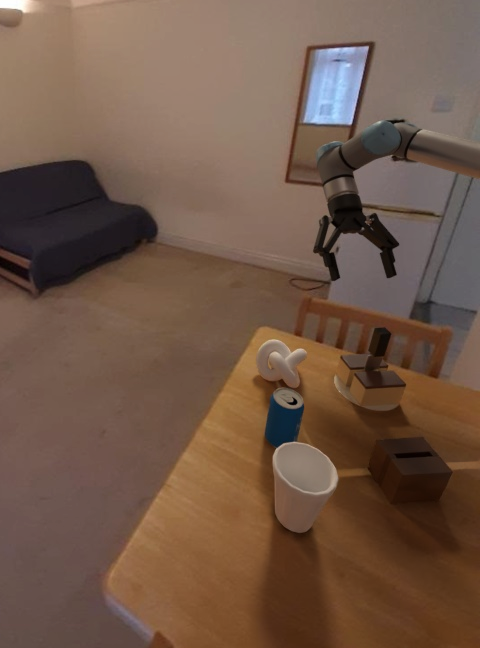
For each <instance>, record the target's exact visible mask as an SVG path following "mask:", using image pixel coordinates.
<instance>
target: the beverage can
mask: <svg viewBox="0 0 480 648" xmlns="http://www.w3.org/2000/svg"><path fill="white" fill-rule="evenodd" d="M304 412H305V403H304V398H303V396H302V395H301V394H300V393H299V392H298V391H296V390H294V389H293V388H290V387H279V388H277V389H275V390H274V391H273V393H272V394H271V395H270V399H269V405H268V410H267V417H266V422H265V428H264V437H265V440H266V442H268V443H269V444H270V445H271V446H272V447H274V448H278V447H279V446H281V445H282V444H284V443H289V442H298V438H299V434H300V430H301V424H302V420H303V416H304Z"/></svg>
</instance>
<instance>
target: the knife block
mask: <svg viewBox="0 0 480 648" xmlns="http://www.w3.org/2000/svg"><path fill="white" fill-rule="evenodd" d="M366 468H367V470H368V471H369V474H371V476H372V477H373V479H374V480H375V482H376V484H377V485H378V487H379V488H380V490H381V492H382V493H383V494H384V496H385V497H386V499H387V501H388V502H389V504H390V505H401V504H414V503H416V504H417V503H418V504H419V503H429V502H430V503H432V502H440V501H441V498H442V496H443V494H444V493H445V489H446V488H447V486H448V484H449V482H450V480H451V478H452V476H453V473H454V471H453V470H452V468H451V467H449V465H448V464H447V463H446V462H445V460H444V459H443V458H442V457H441V456H440V455H439V453H438V452H437V451H436V450H435V449H434V448H433V447H432V445H431V444H430V443H429V442H428V441H427V439H425V437H424V436H411V437H394V438H378V439H376V440H375V443H374V446H373V449H372V452H371V455H370V458H369V460H368V464H367V466H366Z"/></svg>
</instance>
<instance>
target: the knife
mask: <svg viewBox="0 0 480 648" xmlns="http://www.w3.org/2000/svg"><path fill="white" fill-rule="evenodd" d="M391 337H392V333H391V331H389V329H387V328H386V327H385V326H383V327H374V328H373V333H372V336H371V339H370V342H369V347H368V349H367V351H368V352H369V354H371V355H368V357H367V360H366V364H365V367H364V370H363V372H372V371H379V367H380V364H381V361H382V359H383V358H384V357H385V356H386V353H387V350H388V346H389V343H390V340H391Z"/></svg>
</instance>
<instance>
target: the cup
mask: <svg viewBox="0 0 480 648" xmlns="http://www.w3.org/2000/svg"><path fill="white" fill-rule="evenodd" d="M275 448H276V447H275ZM272 472H273V476H274V479H273V480H274V514H275V516H276V518H277V521H278V522H279V523H280V524H281V525H282V526H283V527H284V528H285V529H287V530H289V531H290V532H293V533H298V534H301V533H306V532H307V531H309V530H310V529H311V528H312V526H313V525H314V524H315V522H316V520H317V519H318V517H319V515H320V514H321V513H322V510H323V509H324V508H325V506H326V504H327V502H328V501H329V500H330V498H331V497H332V496H333V495H334V493H335V491H336V489H337V487H338V483H339V474H338V471H337V467H335V465H334V463H333V462H332V460H331V459H330V457H329V456H328V455H326V454H324V452H322V451H321V450H320V449H319V448H317V447H314V446H312V445H311V444H308V443H306V442H300V441H299V442H298V441H297V442H289V443H284V444H282V445H281V446H279V447H278V448H276V449H275V450H274V453H273V455H272Z"/></svg>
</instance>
